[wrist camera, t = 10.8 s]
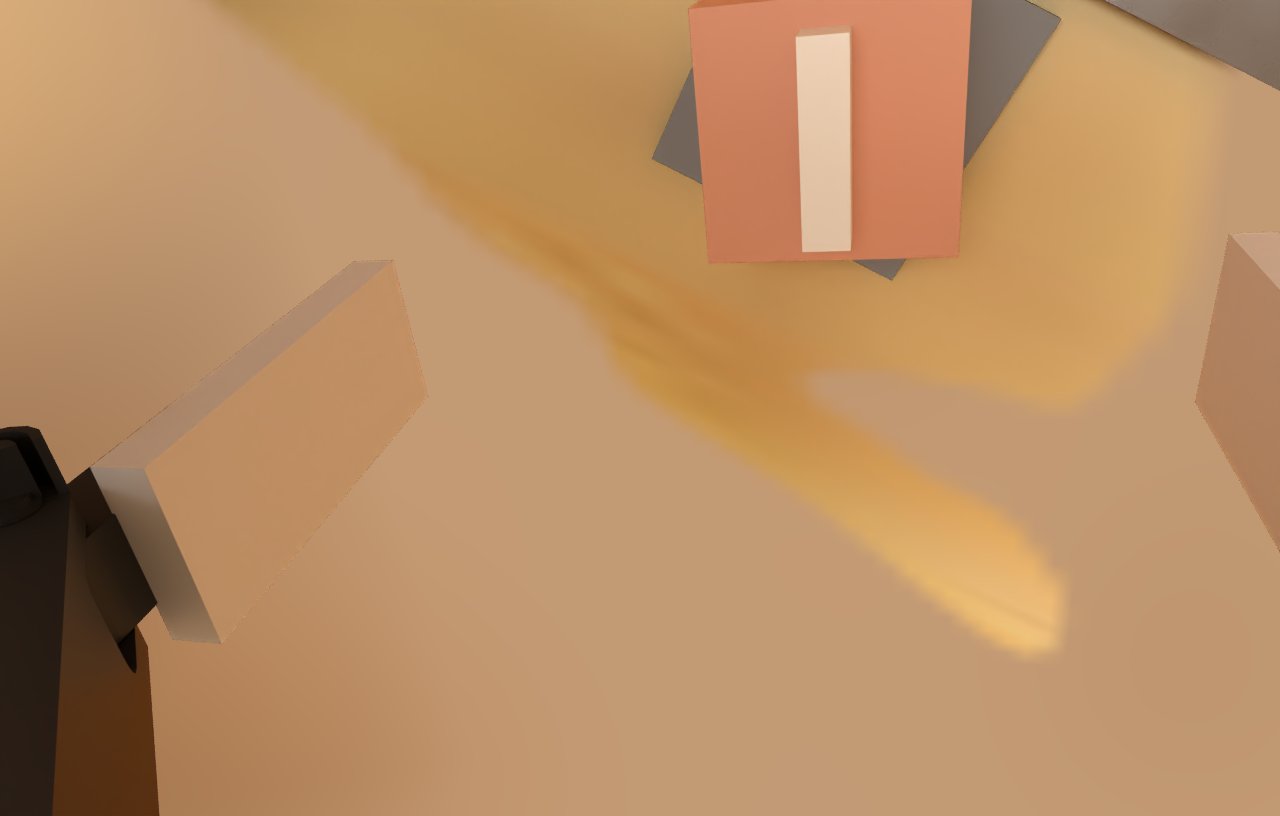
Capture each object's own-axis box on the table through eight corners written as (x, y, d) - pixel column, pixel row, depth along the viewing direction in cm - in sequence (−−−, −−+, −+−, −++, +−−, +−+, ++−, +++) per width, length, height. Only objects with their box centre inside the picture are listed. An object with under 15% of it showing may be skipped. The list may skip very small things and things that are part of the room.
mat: (655, 154, 35) (651, 158, 35) (779, -128, 30) (777, -127, 29) (891, 274, 35) (891, 280, 35) (1058, 16, 30) (1060, 19, 29)
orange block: (719, -14, 31) (678, 15, 25) (959, -38, 29) (976, -13, 23) (734, 208, 35) (701, 279, 29) (948, 199, 33) (961, 274, 27)
